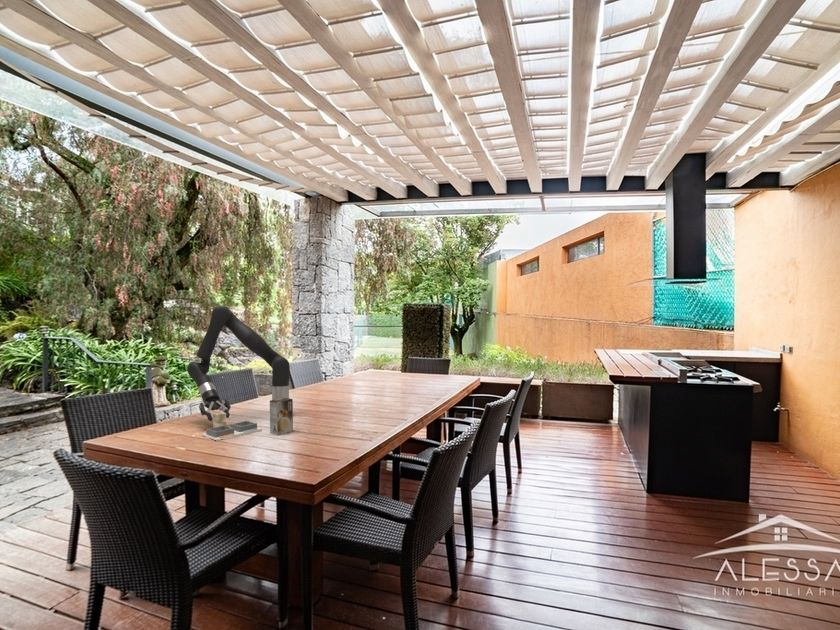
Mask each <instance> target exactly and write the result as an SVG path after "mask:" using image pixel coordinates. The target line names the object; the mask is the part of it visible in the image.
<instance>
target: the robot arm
mask: <svg viewBox="0 0 840 630" xmlns="http://www.w3.org/2000/svg"><path fill="white" fill-rule="evenodd" d="M224 327H226V328H227V329H228V330H229V331H231V333H232V334H233V335H234V336H235V338H236V339H237V340H238V341H239V342H240V343H241V344H242V345H243V346H245V348H247V349H248V350H249V351H251V352H252V353H254V354H255V355H256V356H258V357H260V358H261V359H263V360H264V361H265V362H266V363H267V365H269V367H270V368H271V369H272V375H271V376H272V379H271V400H275V399H281V398H289V399H291V397H290V373H291V372H290V362H289V360H288V359H287V358H285V357H284V356H282V355H281V354H279V353H278V352H276V351H275V350H274V349H273V348H271V346H270V345H269V344H268V343H267V342H266V340H265V339H264V338H263V337H262V336H260V334H258V333H257V332H256V331H255V330H254V329H252V328H251V327H250V326H248V325H247V324H245V323H244V322H243V321H242V320H241V319H239V318H238V317H237V316H236V315H235V314H234V313H233V311H232V310H231V309H230V307H228V306H226V305H224V304H220V305H217V306H215V307H214V308H213V309H212V311H211V318H210V321H209V325H208V327H207V330H206V333H205V334H204V337H203V338H202V341H201V342H200V345H199V347H198V349H197V352H196V357H197V358H199V359H200V362H199V361H191V362H189V363H188V364H187V366H186V367H187V368H186V370H187V374H188V375H189V376H190V378H191V379H192V380H193V382H194V383H195V384H196V387H197V389H198V392H199V396H200V397H201V398H202V401H203V402H200V404H199V405H198V408H199V411H200V414H201V416H206V418H207V420H208V421H209V422H213V414H211V411H217V410H219V411H220V412H223V413H226V419H229V417H230V416H231V414H230V412H229V411H230V409H231V408H232V407H231V405H230V403H229V401H228V400H227V398H224V399H223V400H221V399H220V395H219V393H218V391H217V389H216V386H215V385H214V383H213V382H212V379H211V377H210V376H209V375H208V373H209V370H210V367H211V357H212V355H213V353H214V350H215V348H216V345H217V342H218V339H219V337H220V333H221V331H222V329H223V328H224ZM206 408H207V410H206Z"/></svg>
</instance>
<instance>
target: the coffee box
mask: <svg viewBox="0 0 840 630" xmlns="http://www.w3.org/2000/svg"><path fill="white" fill-rule="evenodd" d="M289 398H290V397H289ZM289 398H281V399H275V400H272V399H271V400H269V433H270V434H271V433H272V434H273V435H275V434H276V436H279V435H280V436H281V435H284V434H288V433H291V432H294V409H293V408H294V407H293V404H294V403H293V401H294V400H293V398H290V399H289ZM287 432H288V433H287ZM283 433H284V434H283Z"/></svg>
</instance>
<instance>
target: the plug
mask: <svg viewBox="0 0 840 630" xmlns="http://www.w3.org/2000/svg"><path fill="white" fill-rule="evenodd" d="M212 418H213V420H212V428H214V427H219V426H224V425H225V426H227V418H226V413H224V412H223V411H220V412H216V413H215V412H214V413H212Z"/></svg>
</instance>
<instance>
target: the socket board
mask: <svg viewBox="0 0 840 630" xmlns="http://www.w3.org/2000/svg"><path fill="white" fill-rule="evenodd" d="M258 432H262V428H260V427H258V423H257V422H254V421H250V420H244V421H239V422H234V423H233V422H232V423H230V424H229V426H228V425H226V426H225V425H224V426H219V427H214V428H213V427H210V428H206V430H205V433H204V432H203V433H201V436H202V435H204V436H206V437H209V438H212V439H214V440H220V441H222V440H221V439H224V440H227V439H226V438H229V439H231V438H230V437H233V438H236V436H237V437H241V436H245V435H244V434H246V435H249V434H254V433H258ZM240 435H241V436H240ZM206 437H205V438H206ZM214 440H213V441H214Z"/></svg>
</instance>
